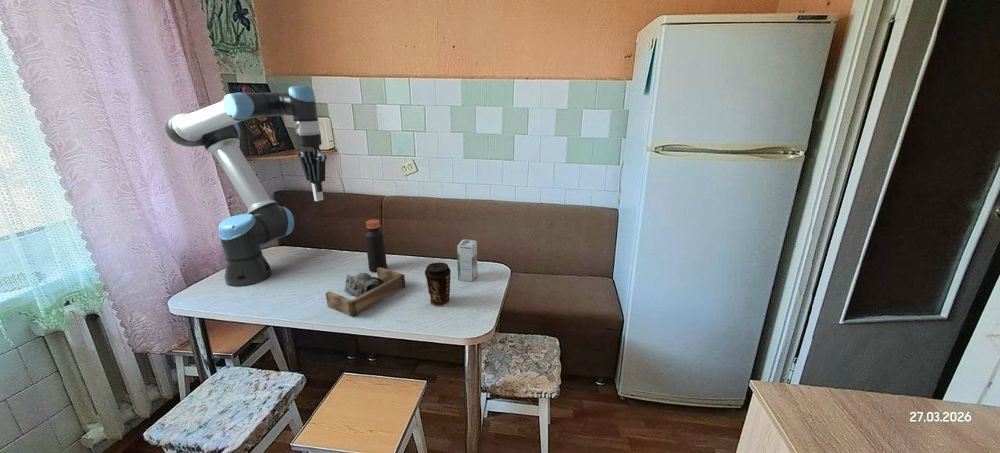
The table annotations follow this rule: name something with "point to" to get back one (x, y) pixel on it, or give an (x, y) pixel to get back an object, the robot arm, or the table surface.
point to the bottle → (375, 246)
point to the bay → (368, 294)
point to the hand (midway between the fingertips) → (319, 200)
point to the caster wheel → (361, 283)
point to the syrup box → (467, 260)
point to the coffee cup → (438, 283)
